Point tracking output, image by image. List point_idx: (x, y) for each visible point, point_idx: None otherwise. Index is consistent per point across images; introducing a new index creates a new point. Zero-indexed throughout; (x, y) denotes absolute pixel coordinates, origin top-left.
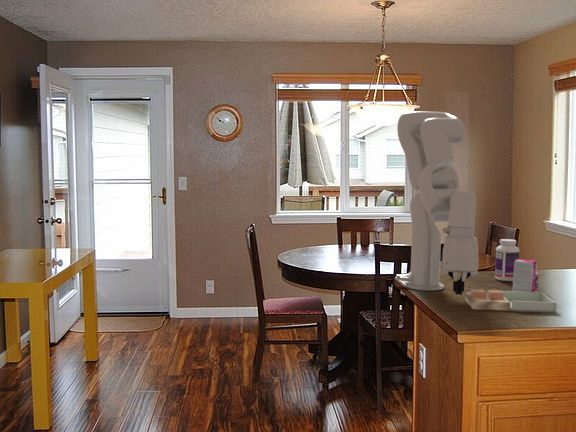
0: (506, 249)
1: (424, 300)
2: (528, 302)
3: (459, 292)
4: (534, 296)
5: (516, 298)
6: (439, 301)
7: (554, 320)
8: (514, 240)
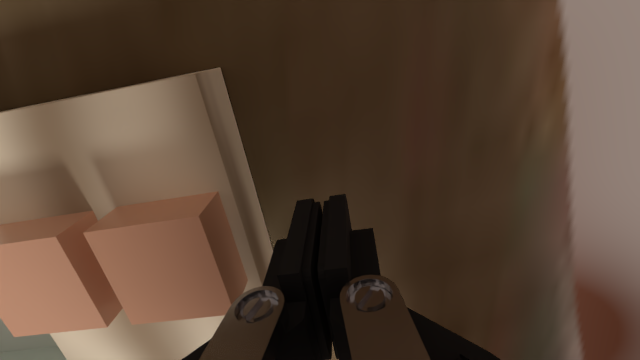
0: None
1: (560, 231)
2: None
3: (318, 209)
4: None
5: (17, 356)
6: (454, 232)
7: None
8: None
